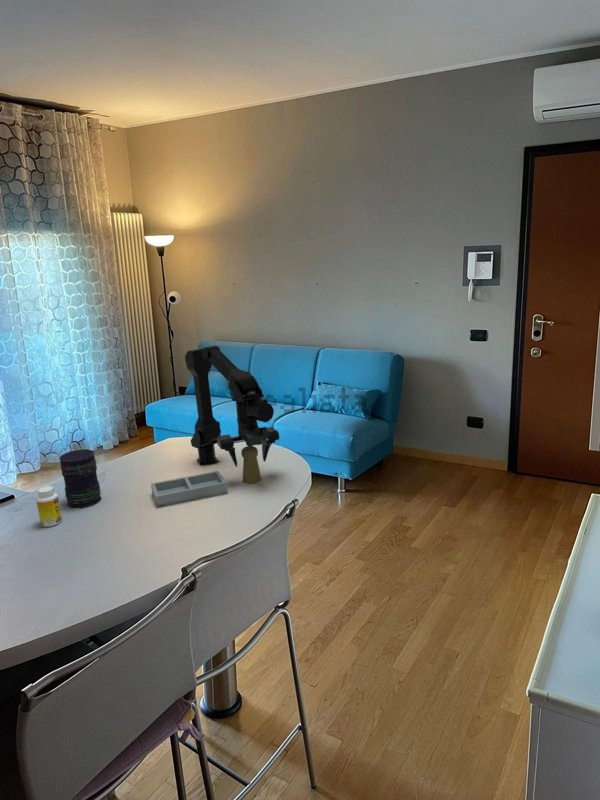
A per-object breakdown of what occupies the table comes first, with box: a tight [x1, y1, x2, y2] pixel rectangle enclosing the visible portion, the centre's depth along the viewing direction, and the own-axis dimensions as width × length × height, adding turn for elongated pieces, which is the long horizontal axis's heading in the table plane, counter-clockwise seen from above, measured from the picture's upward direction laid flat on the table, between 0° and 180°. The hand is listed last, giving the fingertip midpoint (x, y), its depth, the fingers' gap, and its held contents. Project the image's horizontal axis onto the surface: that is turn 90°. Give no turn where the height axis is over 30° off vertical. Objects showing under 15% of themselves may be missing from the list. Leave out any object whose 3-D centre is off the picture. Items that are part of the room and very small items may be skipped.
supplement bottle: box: [35, 485, 63, 528], centre depth 161 cm, size 6×6×10 cm
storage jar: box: [59, 448, 102, 509], centre depth 174 cm, size 10×10×15 cm
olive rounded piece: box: [240, 445, 262, 485], centre depth 183 cm, size 6×6×11 cm
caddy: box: [150, 470, 229, 509], centre depth 176 cm, size 11×21×4 cm, turn 111°
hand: (250, 463), depth 183 cm, fingers open, 9 cm apart
